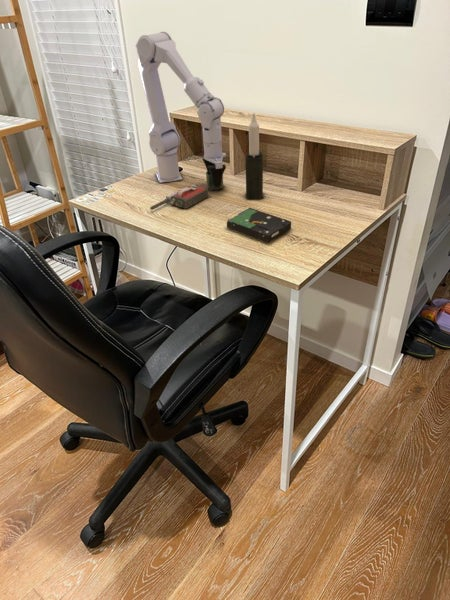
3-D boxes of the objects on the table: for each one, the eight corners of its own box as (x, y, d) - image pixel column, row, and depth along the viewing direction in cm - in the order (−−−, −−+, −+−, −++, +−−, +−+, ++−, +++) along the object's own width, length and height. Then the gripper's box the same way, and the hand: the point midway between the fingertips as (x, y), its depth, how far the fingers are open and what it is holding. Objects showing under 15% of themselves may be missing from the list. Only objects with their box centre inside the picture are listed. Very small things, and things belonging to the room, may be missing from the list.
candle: (262, 192, 145) (263, 110, 130) (262, 199, 141) (262, 115, 126) (247, 193, 145) (245, 111, 131) (246, 199, 141) (244, 115, 127)
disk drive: (291, 230, 124) (249, 215, 132) (292, 221, 122) (249, 206, 130) (268, 245, 117) (225, 228, 126) (268, 235, 116) (225, 219, 124)
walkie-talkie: (191, 190, 149) (148, 212, 137) (190, 177, 147) (146, 198, 134) (212, 195, 145) (169, 218, 132) (211, 182, 142) (167, 204, 130)
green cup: (205, 185, 151) (204, 170, 148) (221, 183, 152) (220, 168, 149) (209, 191, 147) (208, 176, 144) (225, 188, 148) (224, 174, 145)
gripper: (231, 146, 136) (232, 189, 144) (219, 133, 147) (221, 173, 155) (208, 149, 135) (211, 192, 143) (198, 135, 146) (201, 176, 154)
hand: (215, 183), depth 149 cm, fingers closed on green cup, 5 cm apart
